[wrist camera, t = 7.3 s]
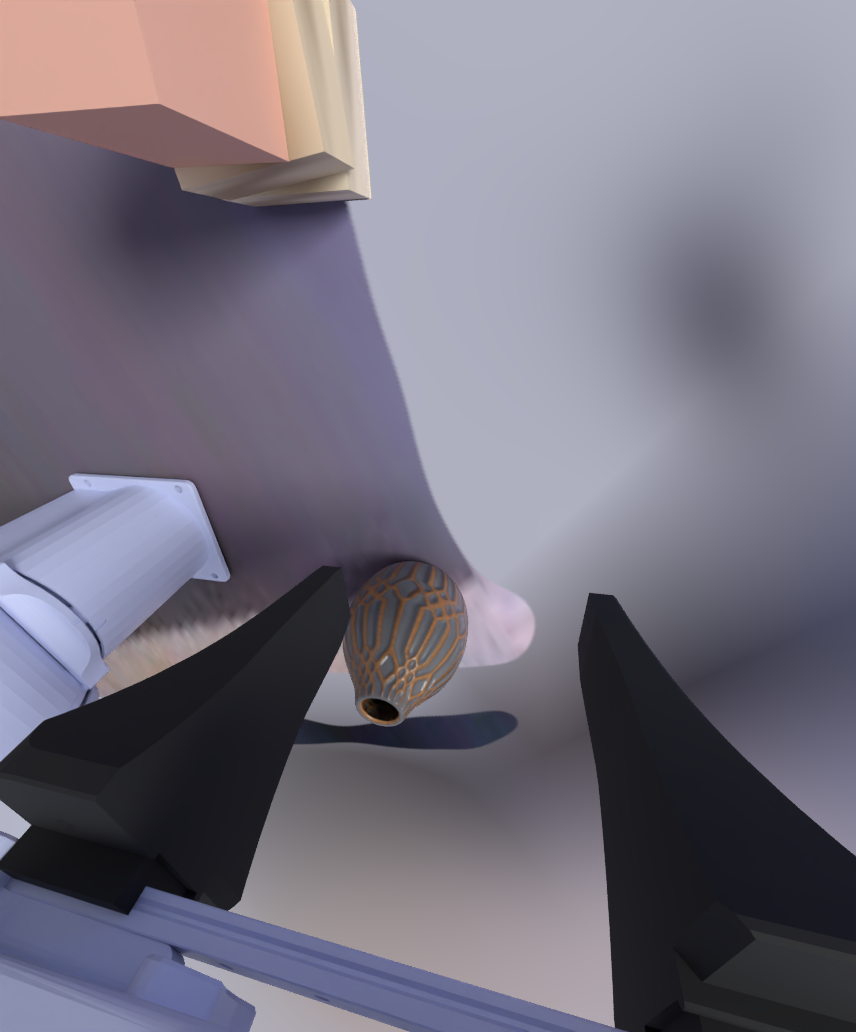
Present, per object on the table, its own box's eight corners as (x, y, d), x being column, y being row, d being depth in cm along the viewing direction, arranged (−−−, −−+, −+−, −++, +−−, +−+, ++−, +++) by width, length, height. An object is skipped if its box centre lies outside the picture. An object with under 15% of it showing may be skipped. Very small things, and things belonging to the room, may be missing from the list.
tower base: (259, 207, 17) (221, 199, 15) (223, 31, 14) (172, -8, 12) (371, 199, 16) (348, 189, 14) (355, 9, 13) (324, -38, 11)
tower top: (230, 200, 15) (182, 190, 13) (166, -3, 12) (93, -56, 10) (355, 168, 14) (324, 151, 12) (312, -64, 11) (262, -140, 9)
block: (171, 167, 12) (-7, 117, 8) (120, -35, 10) (-153, -237, 6) (289, 161, 12) (159, 103, 8) (259, -57, 10) (58, -301, 6)
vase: (429, 639, 28) (395, 768, 21) (350, 583, 27) (286, 699, 20) (497, 590, 25) (484, 725, 18) (410, 523, 24) (357, 638, 16)
